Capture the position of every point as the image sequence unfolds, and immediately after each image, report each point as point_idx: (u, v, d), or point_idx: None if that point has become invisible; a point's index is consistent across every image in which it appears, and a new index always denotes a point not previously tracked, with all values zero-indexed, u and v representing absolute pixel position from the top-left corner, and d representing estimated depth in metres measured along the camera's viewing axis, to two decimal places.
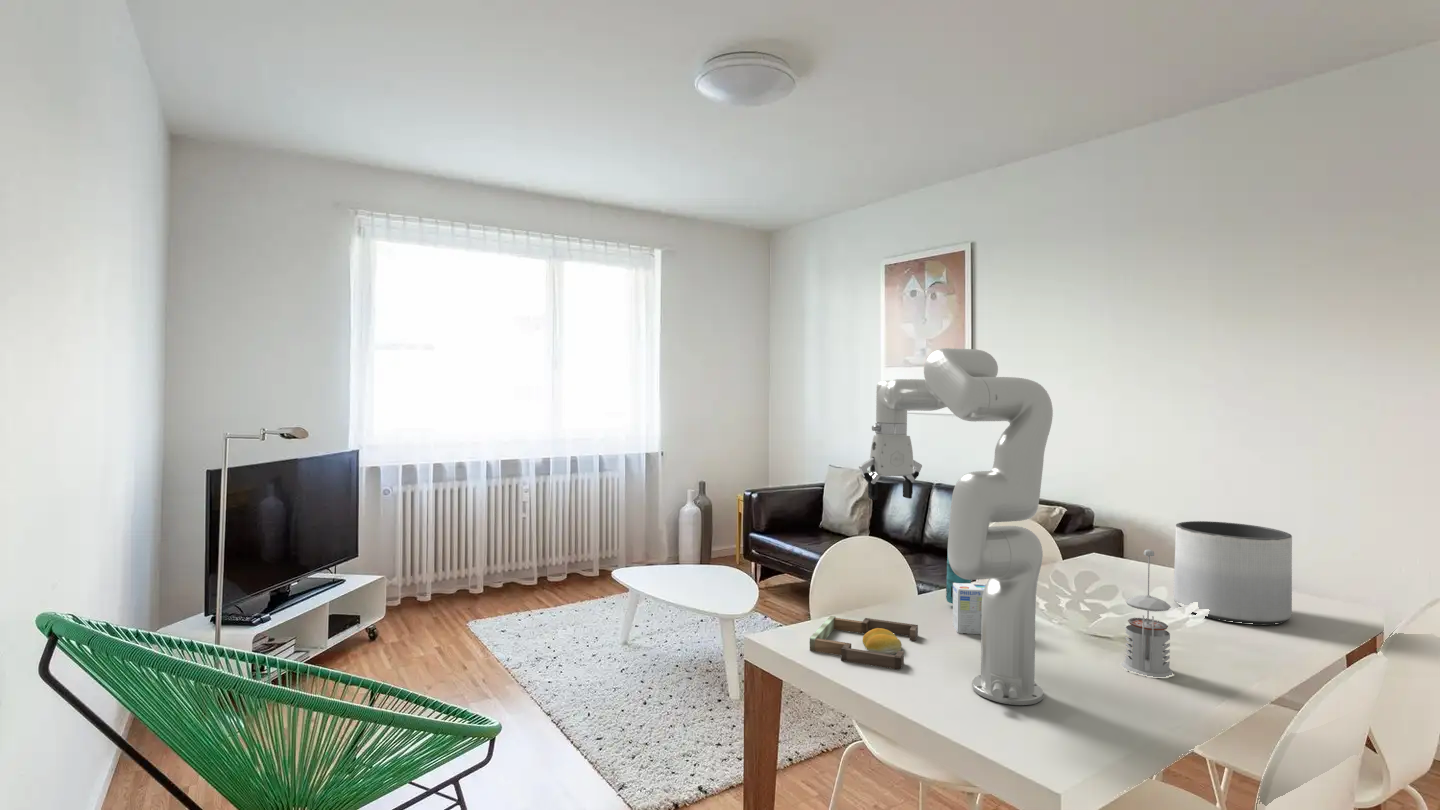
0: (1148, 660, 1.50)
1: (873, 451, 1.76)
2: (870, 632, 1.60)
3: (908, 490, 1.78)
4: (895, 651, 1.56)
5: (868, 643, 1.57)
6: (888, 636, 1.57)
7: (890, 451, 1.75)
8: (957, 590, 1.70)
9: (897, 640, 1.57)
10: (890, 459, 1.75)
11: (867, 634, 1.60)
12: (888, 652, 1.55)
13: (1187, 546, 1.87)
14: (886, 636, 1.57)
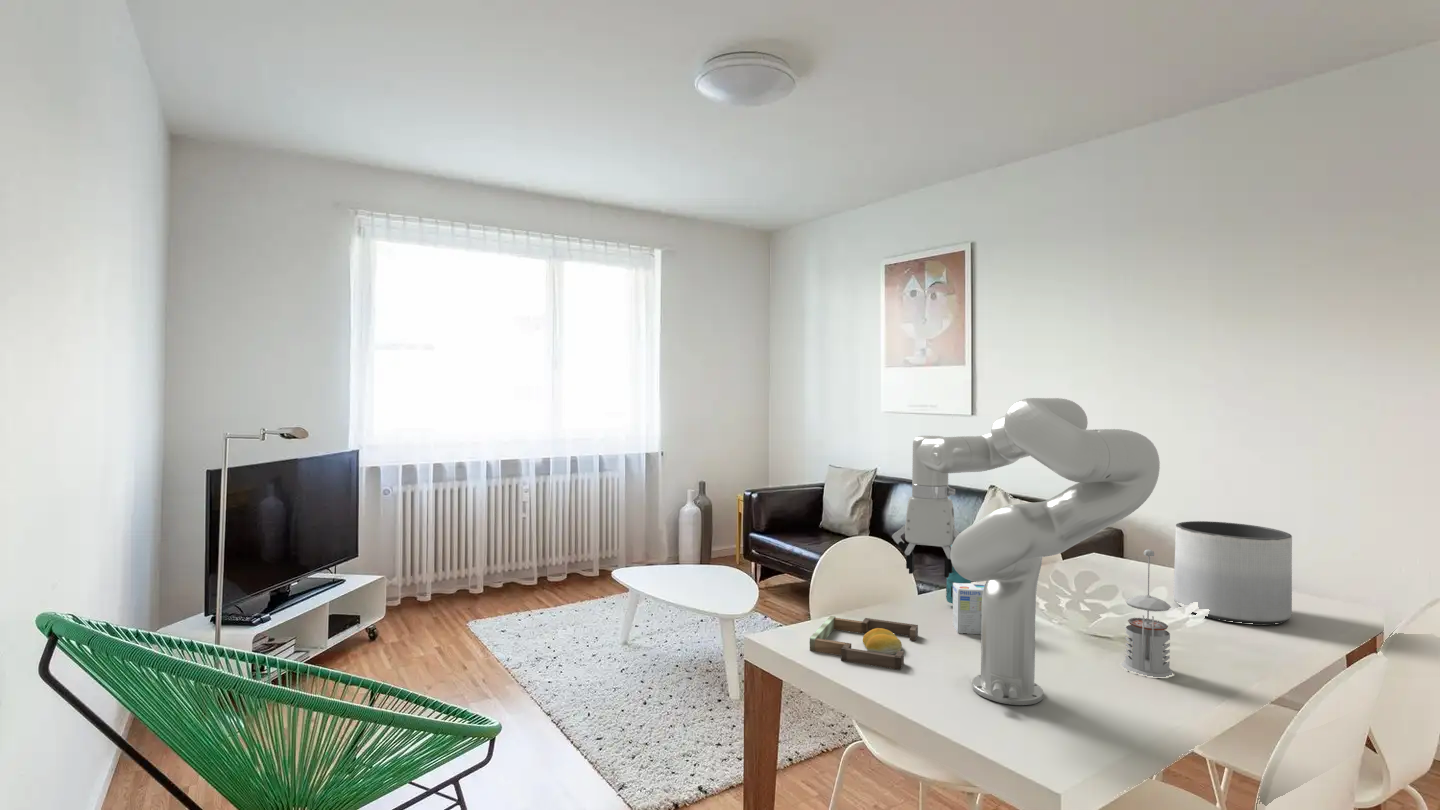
0: (1148, 660, 1.50)
1: (953, 518, 1.53)
2: (870, 632, 1.60)
3: None
4: (895, 651, 1.56)
5: (868, 643, 1.57)
6: (888, 636, 1.57)
7: None
8: (957, 590, 1.70)
9: (897, 640, 1.57)
10: None
11: (867, 634, 1.60)
12: (888, 652, 1.55)
13: (1187, 546, 1.87)
14: (886, 636, 1.57)
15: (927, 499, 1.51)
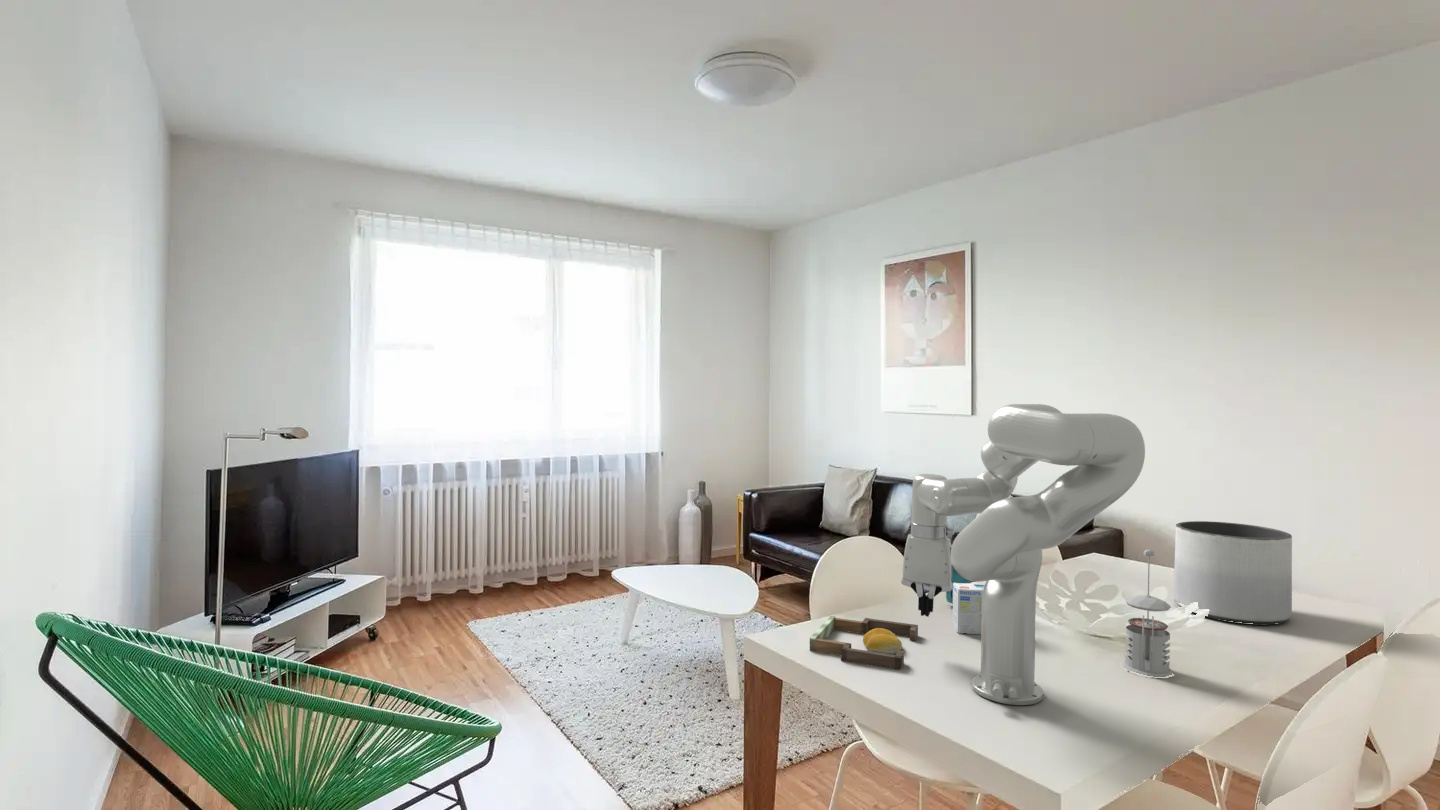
0: (1148, 660, 1.50)
1: (951, 558, 1.53)
2: (870, 632, 1.60)
3: None
4: (895, 651, 1.56)
5: (868, 643, 1.57)
6: (888, 636, 1.57)
7: None
8: (957, 590, 1.70)
9: (897, 640, 1.57)
10: None
11: (867, 634, 1.60)
12: (888, 652, 1.55)
13: (1187, 546, 1.87)
14: (886, 636, 1.57)
15: (926, 539, 1.52)
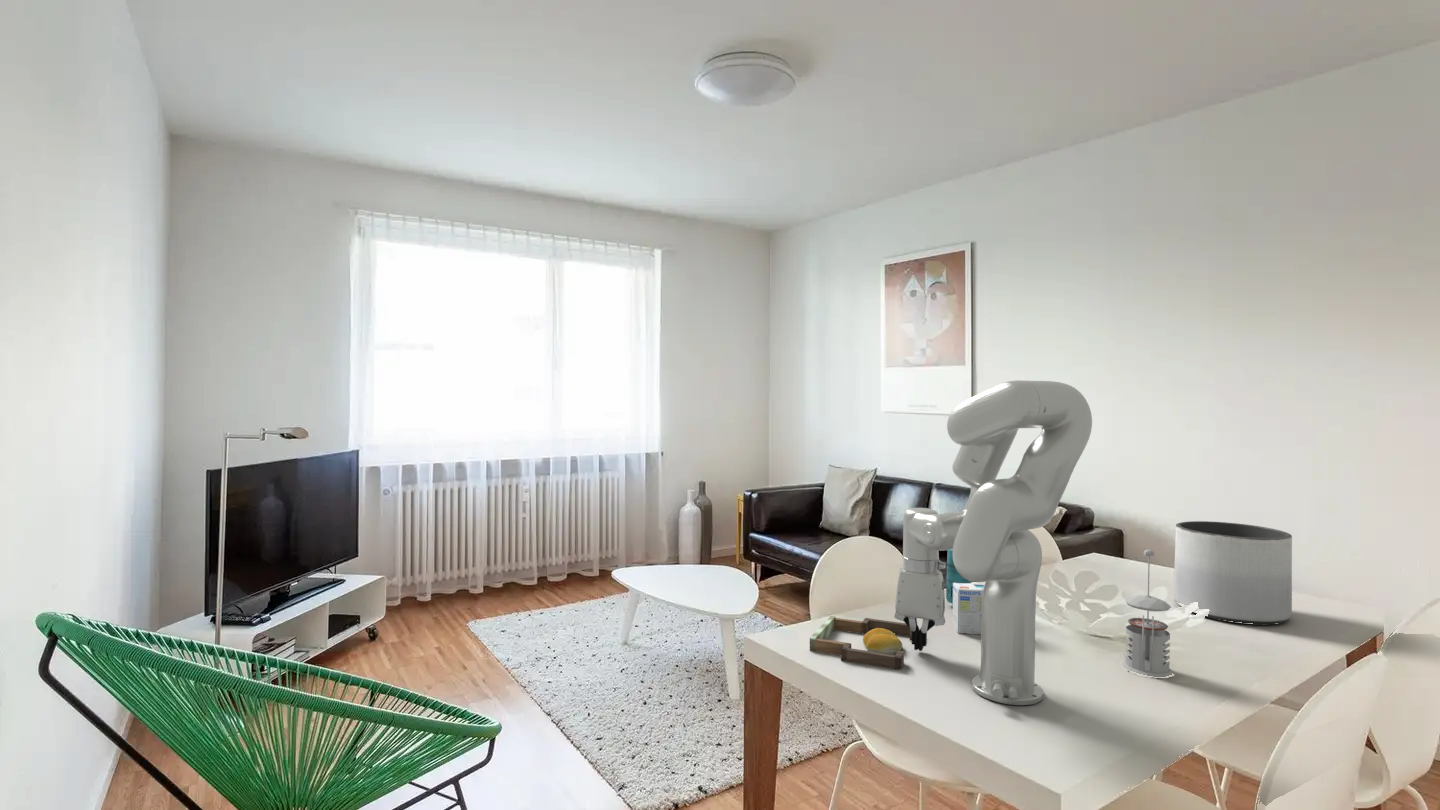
0: (1148, 660, 1.50)
1: (943, 592, 1.54)
2: (870, 632, 1.60)
3: None
4: (895, 651, 1.56)
5: (868, 643, 1.57)
6: (888, 636, 1.57)
7: None
8: (957, 590, 1.70)
9: (897, 640, 1.57)
10: None
11: (867, 634, 1.60)
12: (888, 652, 1.55)
13: (1187, 546, 1.87)
14: (886, 636, 1.57)
15: (917, 573, 1.52)
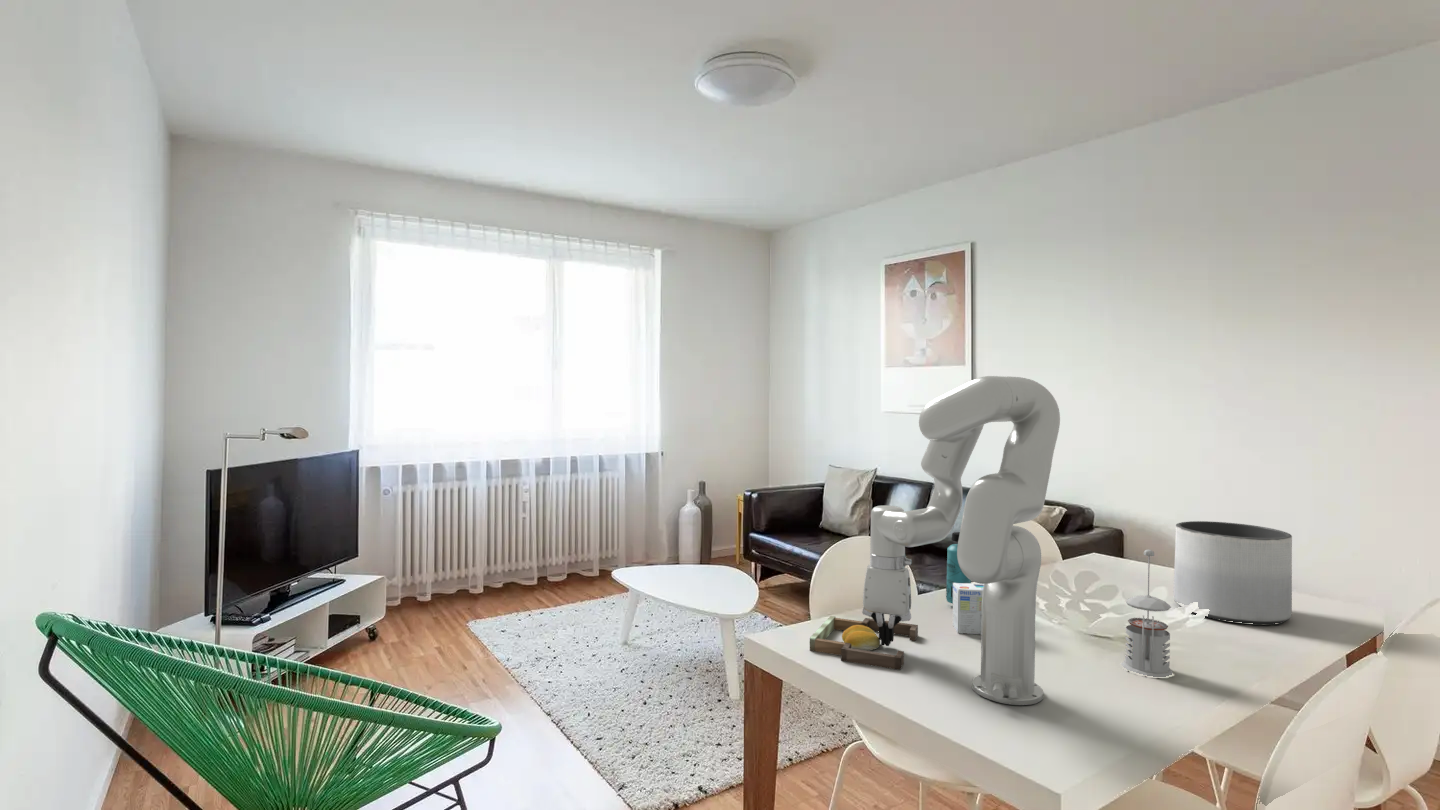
0: (1148, 660, 1.50)
1: (909, 588, 1.57)
2: (849, 629, 1.62)
3: None
4: (873, 647, 1.58)
5: (847, 639, 1.59)
6: (866, 633, 1.59)
7: None
8: (957, 590, 1.70)
9: (875, 637, 1.59)
10: None
11: (846, 631, 1.62)
12: (866, 648, 1.57)
13: (1187, 546, 1.87)
14: (864, 633, 1.59)
15: (883, 570, 1.55)
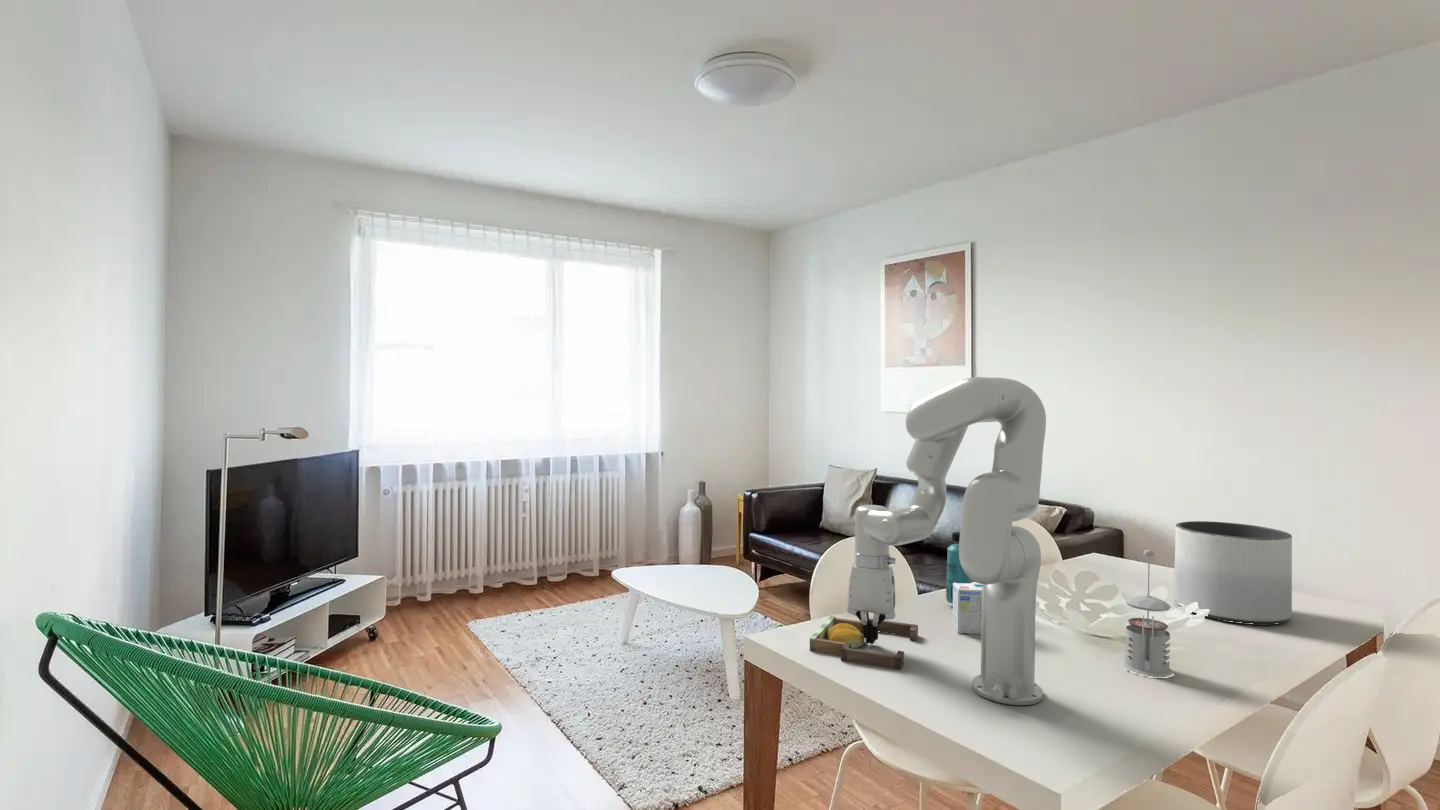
0: (1148, 660, 1.50)
1: (893, 586, 1.58)
2: (834, 627, 1.63)
3: None
4: (857, 645, 1.59)
5: (831, 638, 1.60)
6: (851, 631, 1.60)
7: None
8: (957, 590, 1.70)
9: (860, 635, 1.60)
10: None
11: (831, 629, 1.64)
12: None
13: (1187, 546, 1.87)
14: (849, 631, 1.60)
15: (868, 568, 1.57)
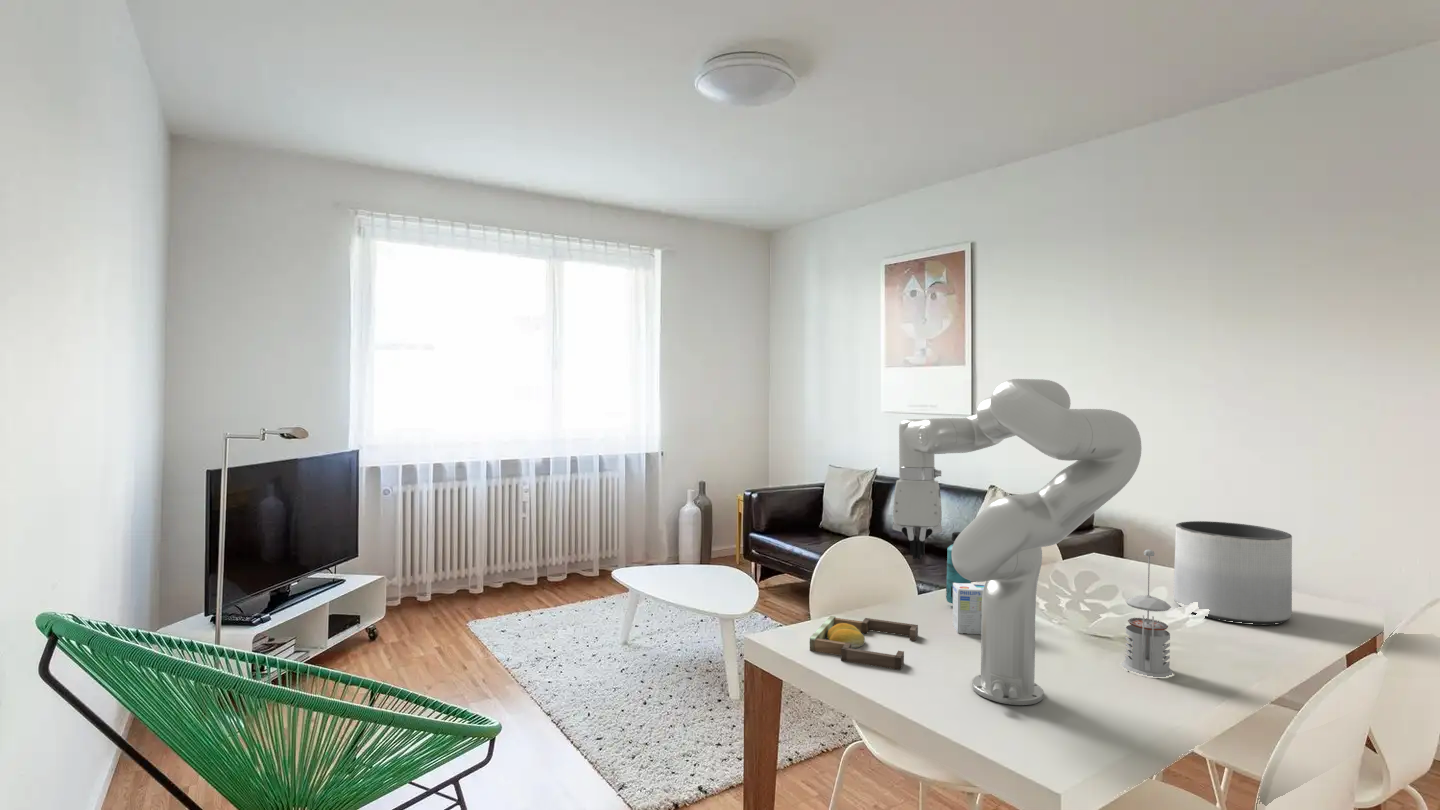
0: (1148, 660, 1.50)
1: (940, 499, 1.56)
2: (834, 627, 1.64)
3: None
4: (858, 645, 1.59)
5: (832, 638, 1.60)
6: (851, 631, 1.60)
7: None
8: (957, 590, 1.70)
9: (860, 635, 1.60)
10: None
11: (831, 629, 1.64)
12: (851, 646, 1.58)
13: (1187, 546, 1.87)
14: (849, 631, 1.60)
15: (914, 481, 1.54)
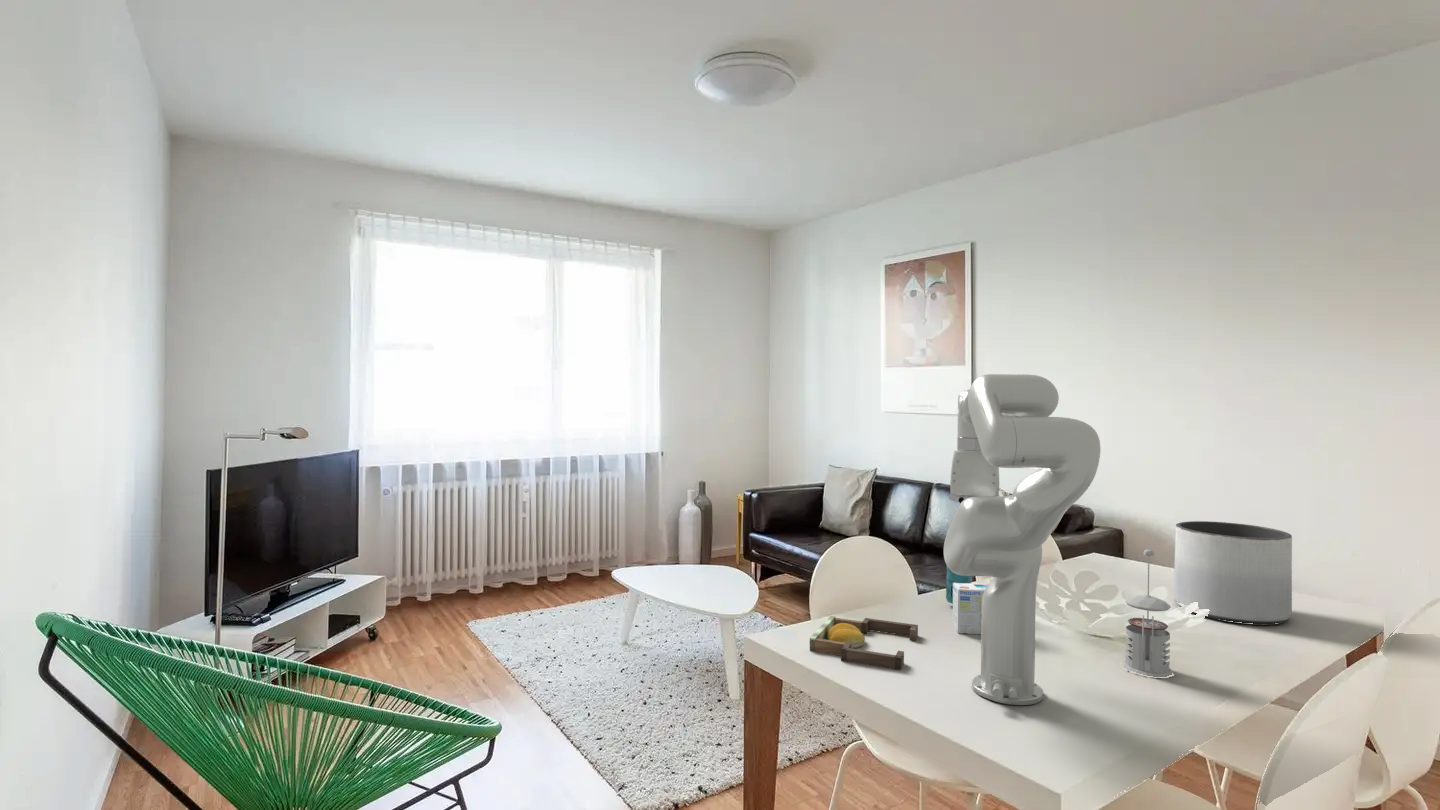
0: (1148, 660, 1.50)
1: (998, 470, 1.57)
2: (834, 627, 1.64)
3: None
4: (858, 645, 1.59)
5: (832, 638, 1.60)
6: (851, 631, 1.61)
7: None
8: (957, 590, 1.70)
9: (860, 634, 1.60)
10: None
11: (831, 629, 1.64)
12: (851, 646, 1.58)
13: (1187, 546, 1.87)
14: (849, 631, 1.60)
15: (973, 451, 1.55)
